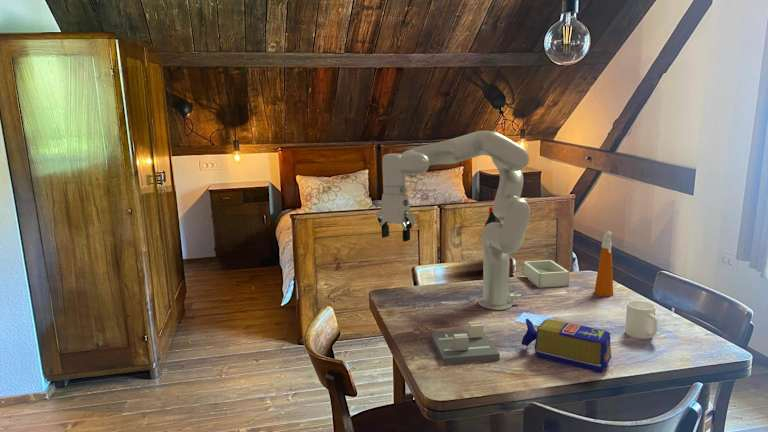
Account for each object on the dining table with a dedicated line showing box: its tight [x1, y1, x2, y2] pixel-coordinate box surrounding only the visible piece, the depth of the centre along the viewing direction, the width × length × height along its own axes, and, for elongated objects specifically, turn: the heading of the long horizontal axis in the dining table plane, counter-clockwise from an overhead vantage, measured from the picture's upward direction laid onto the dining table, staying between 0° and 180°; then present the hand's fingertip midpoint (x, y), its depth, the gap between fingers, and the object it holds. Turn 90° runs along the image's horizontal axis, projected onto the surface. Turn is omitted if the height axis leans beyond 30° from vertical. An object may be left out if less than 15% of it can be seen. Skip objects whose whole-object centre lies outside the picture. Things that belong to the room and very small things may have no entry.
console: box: [430, 329, 501, 365], centre depth 166 cm, size 17×18×2 cm
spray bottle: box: [594, 231, 614, 297], centre depth 208 cm, size 7×11×26 cm, turn 167°
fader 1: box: [453, 333, 469, 351], centre depth 162 cm, size 4×3×4 cm
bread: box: [521, 318, 612, 374], centre depth 158 cm, size 10×25×10 cm, turn 55°
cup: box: [624, 300, 658, 340], centre depth 171 cm, size 8×12×10 cm
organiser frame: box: [522, 259, 570, 289], centre depth 229 cm, size 13×18×6 cm
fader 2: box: [467, 321, 484, 338], centre depth 170 cm, size 4×3×4 cm
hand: (395, 238), depth 186 cm, fingers open, 9 cm apart
